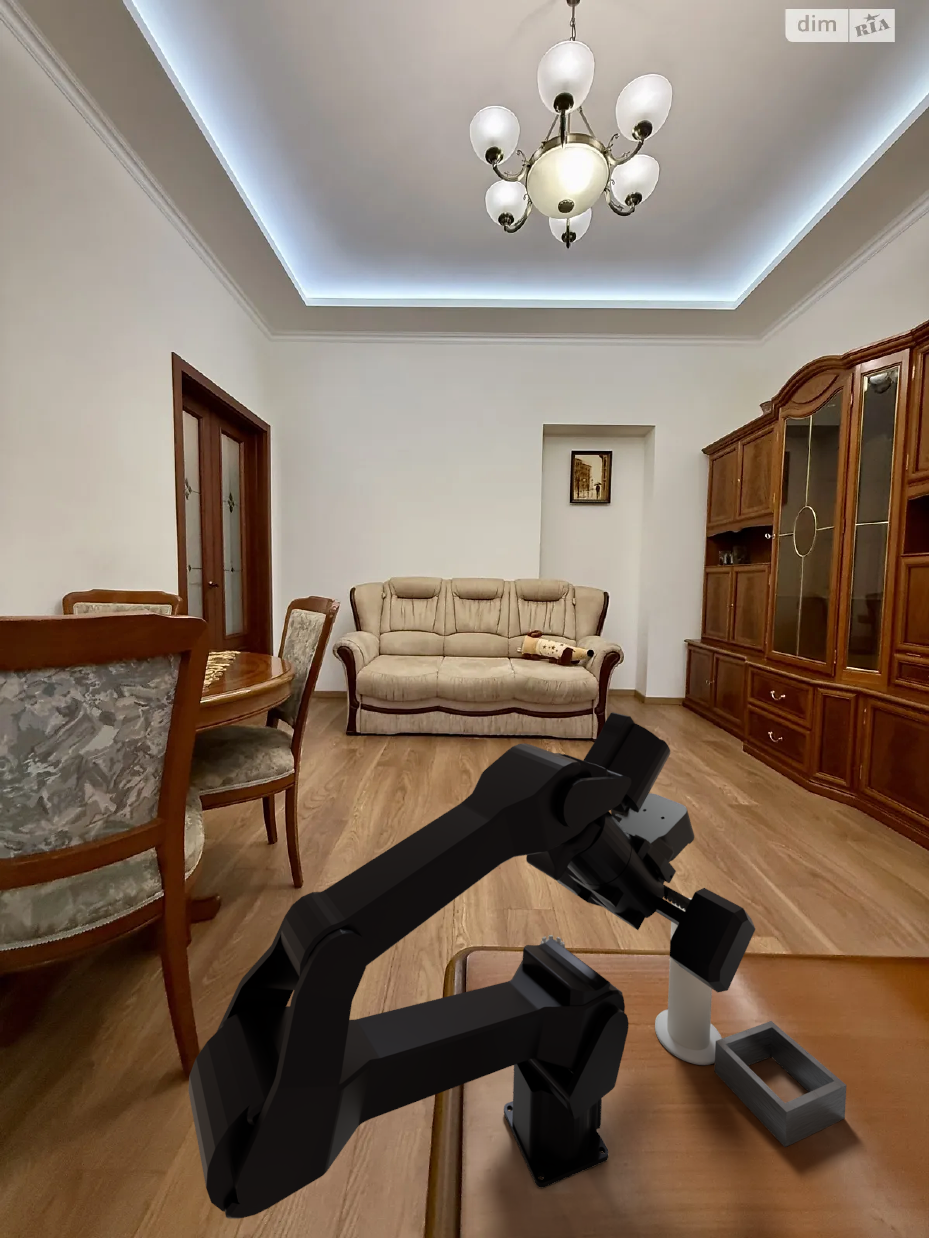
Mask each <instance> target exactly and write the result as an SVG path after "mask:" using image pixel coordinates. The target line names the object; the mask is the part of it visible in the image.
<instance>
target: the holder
mask: <svg viewBox="0 0 929 1238" xmlns="http://www.w3.org/2000/svg"><path fill="white" fill-rule="evenodd" d="M770 1058H772V1059H773V1060H774V1061H775V1062H776V1063H777V1064H778V1065H779V1066H780V1067H781V1068H782V1069H784V1071H786V1072H787V1073H788V1074H789V1075H790V1076H791V1077H792V1078H793V1079H794V1080H795V1081H796V1082H798V1083H799V1084H800V1086H802V1087H803V1088H804V1089H805V1090H806V1091H807V1093H805V1094H802V1095H800V1096H798V1097H795V1098H793V1099H791V1100H789V1101H786V1102H785V1101H783V1099H782V1098H780V1097H779V1096H778V1095H777V1094H776V1092H774V1090H772V1089H771V1088H770V1087H769V1086H768V1084H766V1082H764V1081H763V1079H761V1077H760V1076H758V1075H757V1074H756V1073H755V1072H754V1071H753V1070H752V1069H751V1068H750V1066H751V1065H754V1064H756V1063H758V1062H762V1061H763V1060H766V1059H770ZM713 1069H714V1071H713V1072H714V1073H715V1074H716V1075H717V1076H718V1077H719V1078H720V1079H721V1081H722V1082H723V1083H724V1084H725V1085H726V1086H727V1087H728V1088H729V1089H730V1090H731V1091H732V1093H734V1095H735V1096H736V1097H737V1098H738V1099H739V1100H740V1101H741V1102H742V1103H743V1104H744V1105H745V1107H746V1108H747V1109H748V1110H750V1112H751V1113H752V1114H753V1115H754V1116H755V1117H756V1118H757V1119H758V1120H759V1122H761V1124H762V1125H763V1126H764V1127H766V1129H767V1130H768V1131H769V1133H771V1134H772V1136H773V1137H775V1139H776V1140H778V1142H779V1143H780V1144H781V1145H782V1146H783V1147H784V1148H787V1147H788V1146H790V1145H793V1144H796V1143H797V1142H799V1141H802V1140H804V1139H805V1138H807V1137H809V1136H812V1135H813V1134H815V1133H817V1132H820V1131H821V1130H824V1129H826V1128H828V1127H830V1126H832V1125H834V1124H837V1123H838V1122H840V1121H842V1120H845V1118H846V1104H847V1103H846V1101H847V1100H846V1099H847V1084H846V1083H845V1082H843V1080H842V1079H840V1078H839V1076H837V1075H835V1074H834V1073H833V1072H832V1071H831V1070H830V1069H828V1068H827V1067H826V1066H825V1065H824V1064H823V1063H821V1062H820V1061H819V1060H818V1059H817V1058H816V1057H815V1056H814V1055H812V1054H811V1053H810V1052H808V1051H807V1050H806V1049H805V1048H804V1047H802V1046H801V1045H800V1044H799V1043H798V1042H797V1041H795V1040H794V1038H792V1037H791V1036H790V1035H788V1034H787V1033H786V1032H784V1030H782V1028H780V1027H779V1026H778V1025H777V1024H776V1023H775V1022H774V1021H772V1020H769V1021H767V1022H764V1023H761V1024H758V1025H755V1026H752V1027H750V1028H748V1029H746V1030H742V1031H739V1032H737V1033H734V1034H731V1035H728V1036H726V1037H722V1039H720V1040H717V1041H716V1044H715V1063H714V1068H713Z"/></svg>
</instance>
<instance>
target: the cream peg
mask: <svg viewBox="0 0 929 1238" xmlns="http://www.w3.org/2000/svg"><path fill="white" fill-rule="evenodd" d="M688 898H689V899H692V897H688ZM671 904H673V903H672V902H671ZM673 905H674V904H673ZM675 906H676V904H675ZM676 907H677V906H676ZM678 908H680V906H679V907H678ZM680 909H681V908H680ZM681 910H683V911H685V910H684V908H683V909H681ZM677 926H678V925H677V924H675V923H673V922H672V921H670V939H671V938H672V936H673V934H674V932H675V930H676V928H677ZM668 969H669V971H668V997H667V1009H668V1018H667V1030H668V1033H669V1035H670V1036H671V1037H672V1039H673V1040H674V1041H675V1042H677V1043H678V1044H679V1045H681V1046H683V1047H685V1048H687V1049H691V1050H703V1049H705V1048H707V1047H708V1045H709V1043H710V1024H712V1022H711V1021H712V1020H711V1019H712V998H713V996H712V994H713V989H712V988H710V987H709V986H707V985H706V984H704V983H703V982H702V981H700V980H699V979H697V978H696V977H694V976H693V975H691V974H690V973H688V972H687V971H686V970H685V969H683V968H682V967H680V966H679V965H678V964H677V963H676V962H675V961H674V960H673V959H672V958H671V957H670V956H669V967H668Z"/></svg>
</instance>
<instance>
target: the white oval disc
mask: <svg viewBox="0 0 929 1238" xmlns="http://www.w3.org/2000/svg"><path fill="white" fill-rule="evenodd" d="M667 1018H668V1008H667V1009H664V1010H662V1011H661V1012H660V1013H658V1015H656V1018H655V1021H654V1023H655V1024H654V1030H655V1033H656V1034H655V1035H656V1037H657V1040H658V1041H659V1042H660V1044H661V1045H662V1046H663V1047H664V1048H665V1049H666V1050H667V1051H668V1052H669V1054H671V1055H673V1056H675V1057H677V1058H678V1059H679V1060H682V1061H684V1062H687V1063H689V1064H693V1065H697V1066H698V1065H699V1066H709V1065H713V1064H715V1044H716V1041H717V1040H720V1039H722V1038H723V1037H722V1035H721V1034H720V1031H718V1029H717V1028H716V1027H715V1026H714V1024H712V1023H711V1024H710V1043H709V1045H708V1047H707V1048H705V1049H703V1050H691V1049H687V1048H685V1047H683V1046H681V1045H679V1044H678V1043H677V1042H675V1041H674V1040H673V1039H672V1037H671V1036H670V1035H669V1033H668V1030H667Z"/></svg>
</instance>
